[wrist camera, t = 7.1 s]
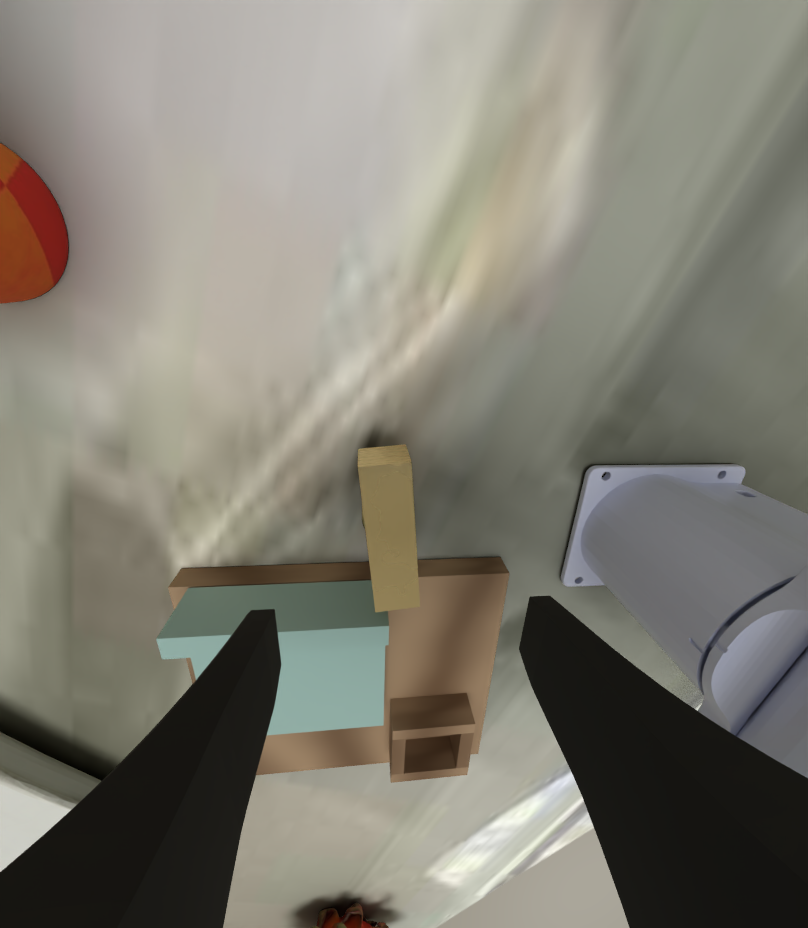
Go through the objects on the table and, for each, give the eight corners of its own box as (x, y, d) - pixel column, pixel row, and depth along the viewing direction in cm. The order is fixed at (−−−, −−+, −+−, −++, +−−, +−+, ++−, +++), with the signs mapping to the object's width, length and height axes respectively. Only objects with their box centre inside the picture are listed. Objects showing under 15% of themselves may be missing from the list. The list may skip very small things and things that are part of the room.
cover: (385, 579, 20) (388, 626, 17) (382, 706, 24) (385, 761, 21) (188, 588, 19) (156, 639, 16) (218, 719, 23) (196, 780, 20)
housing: (500, 556, 22) (523, 598, 19) (472, 732, 28) (486, 785, 25) (181, 568, 20) (147, 617, 17) (224, 754, 26) (205, 816, 23)
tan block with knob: (410, 542, 21) (424, 606, 17) (368, 547, 21) (370, 613, 16) (402, 424, 18) (416, 461, 14) (354, 428, 18) (352, 467, 14)
